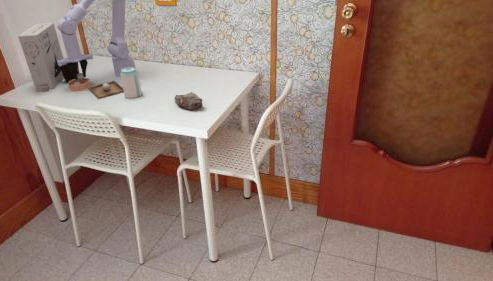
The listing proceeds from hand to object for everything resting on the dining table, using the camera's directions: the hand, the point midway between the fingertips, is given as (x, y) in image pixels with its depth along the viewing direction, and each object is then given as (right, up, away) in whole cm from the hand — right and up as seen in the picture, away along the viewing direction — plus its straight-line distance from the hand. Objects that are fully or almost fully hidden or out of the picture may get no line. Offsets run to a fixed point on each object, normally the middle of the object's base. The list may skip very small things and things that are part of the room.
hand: (80, 77), depth 171 cm
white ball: (+13, -6, -4) cm, 15 cm away
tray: (+13, -7, -3) cm, 15 cm away
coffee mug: (-7, 0, +11) cm, 13 cm away
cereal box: (-17, -1, +9) cm, 19 cm away
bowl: (0, -5, +1) cm, 5 cm away
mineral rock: (+51, -14, -18) cm, 56 cm away
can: (+26, -9, -8) cm, 29 cm away
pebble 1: (-1, -5, 0) cm, 5 cm away
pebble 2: (0, -1, 0) cm, 1 cm away
